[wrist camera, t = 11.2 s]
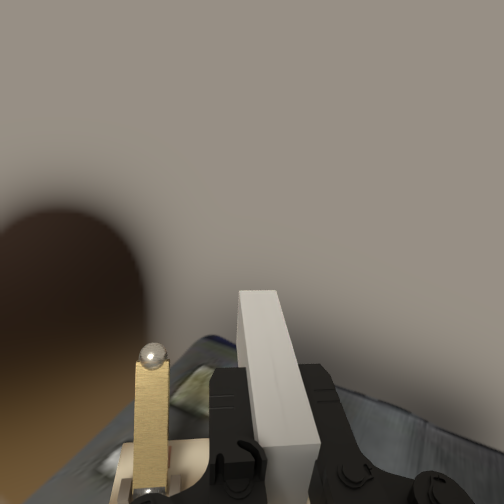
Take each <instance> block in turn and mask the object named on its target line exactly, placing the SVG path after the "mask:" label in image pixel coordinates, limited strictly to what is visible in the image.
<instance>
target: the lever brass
mask: <svg viewBox="0 0 504 504" xmlns="http://www.w3.org/2000/svg"><path fill="white" fill-rule="evenodd" d="M169 384H170V359H167V351H166V349H165V347H164V346H163V345H161V344H159V343H150V344H147V345H146V346H145V347H143V349H142V350H141V352H140V355H139V360H138V361H137V362H136V383H135V418H134V453H133V489H132V495H133V500H135V499H136V498H138V497H140V496H142V495H145V494H147V493H160V494H163V495H165V496H166V492H167V486H168V440H169Z"/></svg>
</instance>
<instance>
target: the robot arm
mask: <svg viewBox="0 0 504 504" xmlns="http://www.w3.org/2000/svg"><path fill="white" fill-rule="evenodd" d="M238 303H239V304H238V321H237V339H236V345H237V355H238V366H239V367H237V368H216V369H215V371H214V373H213V375H212V377H211V379H210V382H209V462H208V466H207V468H206V471H205V472H204V474H203V475H202V477H201V478H200V479H199V480H198V481H197V482H196V483H195V484H194V485H193V486H191V487H189V488H187V489H186V490H184V491H181V492H179V493H177V494H175V495H172V496H170V497H167V496H165V495H163V494H160V493H147V494H145V495H142V496H140V497H138V498H136V499H135V500H133V501H132V502H131V503H130V504H306V503H307V499H308V495H309V500H310V504H475V503H474V502H473V501H472V499H471V498H470V497H469V496H468V495H467V493H466V492H465V491H464V490H463V489H462V488H461V487H460V486H459V485H458V484H457V483H456V482H455V481H454V480H453V479H451V478H449V477H447V476H446V475H444V474H442V473H439V472H435V471H425V472H421V473H420V474H419V475H418V476H416V478H415V480H413V479H410V478H406V477H402V476H398V475H395V474H391V473H388V472H385V471H383V470H381V469H379V468H377V467H376V466H374V465H373V464H372V462H370V461H369V460H368V459H367V458H366V457H365V456H364V455H363V454H362V453H361V451H360V449H359V447H358V445H357V443H356V440H355V438H354V435H353V433H352V430H351V427H350V425H349V422H348V420H347V417H346V415H345V412H344V409H343V407H342V404H341V403H340V399H339V397H338V394H337V392H336V390H335V386H334V384H333V381H332V379H331V376H330V375H329V374H328V372H327V371H326V370H325V369H324V368H323V367H322V366H321V365H320V364H299V365H298V364H297V360H296V357H295V353H294V350H293V347H292V343H291V340H290V336H289V333H288V330H287V326H286V323H285V319H284V316H283V313H282V309H281V306H280V303H279V300H278V296H277V292H276V290H255V291H253V290H251V291H249V290H247V291H239V302H238Z"/></svg>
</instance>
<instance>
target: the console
mask: <svg viewBox="0 0 504 504" xmlns="http://www.w3.org/2000/svg"><path fill="white" fill-rule="evenodd" d="M133 453H134V443H123V446H122V450H121V454H120V459H119V463H118V467H117V472H116V476H115V480H114V485H113V489H112V493H111V498H110V502H109V504H130V503H131V502H132V501H133V495H132V489H133ZM208 462H209V438H203V439H186V440H169V441H168V486H167V492H166V496H167V497H170V496H172V495H175V494H177V493H179V492H181V491H184V490H186V489H187V488H189V487H191V486H193V485H194V484H195V483H196V482H197V481H198V480H199V479H200V478H201V477H202V475H203V474H204V472H205V471H206V468H207V466H208ZM306 504H310V500H309V495H308V499H307V503H306Z"/></svg>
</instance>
